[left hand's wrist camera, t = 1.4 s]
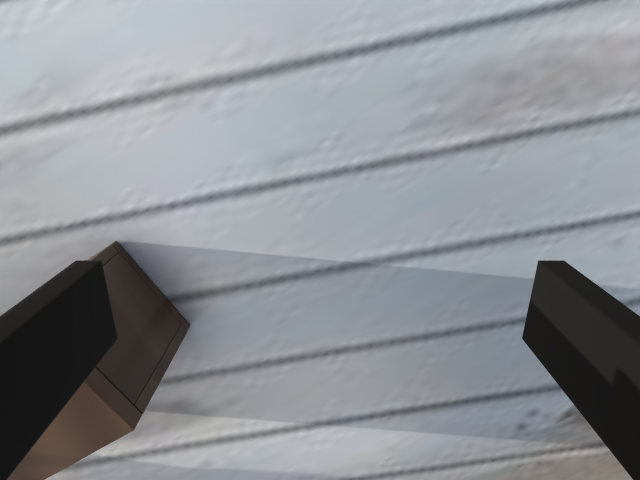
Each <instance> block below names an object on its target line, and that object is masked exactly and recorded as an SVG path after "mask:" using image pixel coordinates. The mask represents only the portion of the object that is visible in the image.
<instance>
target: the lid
mask: <svg viewBox="0 0 640 480" xmlns="http://www.w3.org/2000/svg"><path fill="white" fill-rule="evenodd" d="M141 416H142V414H141V413H140V412H139V411H138V410H137V409H136V408H135V407H134V406H133V405H132V404H131V403H130V402H129V401H128V400H127V399H126V398H125V397H124V396H123V395H122V394H121V393H120V392H119V391H118V390H117V389H116V388H115V387H114V386H113V385H112V384H111V383H110V382H109V381H108V380H107V379H106V378H105V377H104V376H103V375H102V374H101V373H100V372H99V371H98V370H97V369H96V368H94V369H93V371H92V372H91V373H90V374H89V376H88V377H87V378H86V380H85V381H84V382H83V383H82V385H81V386H80V387H79V388H78V390H77V391H76V392H75V394H74V395H73V396H72V397H71V399H70V400H69V401H68V402H67V404H66V405H65V406H64V407H63V409H62V410H61V411H60V413H59V414H58V415H57V416H56V418H55V419H54V420H53V421H52V423H51V424H50V425H49V427H48V428H47V429H46V430H45V432H44V433H43V434H42V435H41V437H40V438H39V439H38V441H37V442H36V443H35V444H34V446H33V447H32V448H31V449H30V451H29V452H28V453H27V455H26V456H25V457H24V458H23V460H22V461H21V462H20V463H19V465H18V466H17V467H16V468H15V470H14V471H13V472H12V474H11V475H10V476H9V477H8V479H7V480H44V479H46V478H48V477H50V476H52V475H53V474H55V473H57V472H59V471H61V470H62V469H64V468H66V467H68V466H70V465H72V464H73V463H75V462H77V461H79V460H81V459H82V458H84V457H86V456H88V455H90V454H91V453H93V452H95V451H97V450H99V449H100V448H102V447H104V446H106V445H108V444H110V443H111V442H113V441H115V440H117V439H119V438H120V437H122V436H124V435H126V434H128V433H129V432H131V431H133V430H134V429H135V427H136V425H137V423H138V422H139V420H140V418H141Z"/></svg>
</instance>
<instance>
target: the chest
mask: <svg viewBox="0 0 640 480" xmlns="http://www.w3.org/2000/svg"><path fill="white" fill-rule="evenodd" d="M87 261H102V265H103V270H104V275H105V279H106V284H107V289H108V294H109V299H110V303H111V308H112V313H113V318H114V322H115V327H116V332H117V337H118V339H117V340H116V341H115V343H114V344H113V345H112V346H111V348H110V349H109V350H108V352H107V353H106V354H105V355H104V357H103V358H102V359H101V360H100V362H99V363H98V364H97V366H96V367H95V368H96V369H97V370H98V371H99V372H100V373H101V374H102V375H103V376H104V377H105V378H106V379H107V380H108V381H109V382H110V383H111V384H112V385H113V386H114V387H115V388H116V389H117V390H118V391H119V392H120V393H121V394H122V395H123V396H124V397H125V398H126V399H127V400H128V401H129V402H130V403H131V404H132V405H133V406H134V407H135V408H136V409H137V410H138V411H139V412H140V413H141V414H143V413H144V411H145V409H146V407H147V405H148V403H149V401H150V400H151V398H152V396H153V394H154V392H155V390H156V388H157V387H158V385H159V383H160V381H161V379H162V377H163V376H164V374H165V372H166V370H167V368H168V366H169V364H170V363H171V361H172V359H173V357H174V355H175V353H176V351H177V350H178V348H179V346H180V344H181V342H182V340H183V338H184V337H185V335H186V333H187V331H188V329H189V327H190V325H189V324H188V322H187V321H186V320H185V319H184V318H183V317H182V316H181V314H180V313H179V312H178V311H177V310H176V309H175V308H174V306H173V305H172V304H171V303H170V302H169V301H168V299H167V298H166V297H165V296H164V295H163V294H162V293H161V291H160V290H159V289H158V288H157V287H156V286H155V285H154V283H153V282H152V281H151V280H150V279H149V278H148V276H147V275H146V274H145V273H144V272H143V271H142V270H141V268H140V267H139V266H138V265H137V264H136V263H135V262H134V260H133V259H132V258H131V257H130V256H129V255H128V254H127V252H126V251H125V250H124V249H123V248H122V247H121V245H120V244H119V243H118V242H117V241H115V242H114V243H112V244H111V245H109V246H108V247H106V248H105V249H103V250H102V251H100V252H99V253H97V254H96V255H94V256H93V257H91V258H90V259H89V260H87Z"/></svg>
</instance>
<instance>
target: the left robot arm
mask: <svg viewBox="0 0 640 480" xmlns="http://www.w3.org/2000/svg"><path fill="white" fill-rule="evenodd" d="M117 339H118V337H117V332H116V327H115V322H114V318H113V313H112V308H111V303H110V299H109V294H108V289H107V284H106V279H105V275H104V270H103V265H102V261H75V262H74V263H72V264H71V265H70V266H68V267H67V268H66V269H64V270H63V271H61V272H60V273H59V274H57V275H56V276H55V277H53V278H52V279H51V280H49V281H48V282H46V283H45V284H44V285H42V286H41V287H40V288H38V289H37V290H36V291H34V292H33V293H32V294H30V295H29V296H27V297H26V298H25V299H23V300H22V301H21V302H19V303H18V304H17V305H15V306H14V307H12V308H11V309H10V310H8V311H7V312H6V313H4V314H3V315H2V316H0V480H7V479H8V477H9V476H10V475H11V474H12V472H13V471H14V470H15V468H16V467H17V466H18V465H19V463H20V462H21V461H22V460H23V458H24V457H25V456H26V455H27V453H28V452H29V451H30V449H31V448H32V447H33V446H34V444H35V443H36V442H37V441H38V439H39V438H40V437H41V435H42V434H43V433H44V432H45V430H46V429H47V428H48V427H49V425H50V424H51V423H52V421H53V420H54V419H55V418H56V416H57V415H58V414H59V413H60V411H61V410H62V409H63V407H64V406H65V405H66V404H67V402H68V401H69V400H70V399H71V397H72V396H73V395H74V394H75V392H76V391H77V390H78V388H79V387H80V386H81V385H82V383H83V382H84V381H85V380H86V378H87V377H88V376H89V374H90V373H91V372H92V371H93V369H94V368H95V367H96V366H97V364H98V363H99V362H100V360H101V359H102V358H103V357H104V355H105V354H106V353H107V352H108V350H109V349H110V348H111V346H112V345H113V344H114V343H115V341H116V340H117ZM522 339H523V340H524V341H525V343H526V344H527V345H528V346H529V348H530V349H531V350H532V352H533V353H534V354H535V355H536V357H537V358H538V359H539V360H540V362H541V363H542V364H543V366H544V367H545V368H546V369H547V371H548V372H549V373H550V374H551V376H552V377H553V378H554V380H555V381H556V382H557V383H558V385H559V386H560V387H561V388H562V390H563V391H564V392H565V394H566V395H567V396H568V397H569V399H570V400H571V401H572V402H573V404H574V405H575V406H576V407H577V409H578V410H579V411H580V413H581V414H582V415H583V416H584V418H585V419H586V420H587V421H588V423H589V424H590V425H591V427H592V428H593V429H594V430H595V432H596V433H597V434H598V435H599V437H600V438H601V439H602V441H603V442H604V443H605V444H606V446H607V447H608V448H609V449H610V451H611V452H612V453H613V455H614V456H615V457H616V458H617V460H618V461H619V462H620V463H621V465H622V466H623V467H624V468H625V470H626V471H627V472H628V474H629V475H630V476H631V477H632V479H633V480H640V316H638V315H637V314H636V313H634V312H633V311H632V310H630V309H629V308H628V307H626V306H625V305H623V304H622V303H621V302H619V301H618V300H617V299H615V298H614V297H613V296H611V295H610V294H608V293H607V292H606V291H604V290H603V289H602V288H600V287H599V286H598V285H596V284H595V283H594V282H592V281H591V280H589V279H588V278H587V277H585V276H584V275H583V274H581V273H580V272H579V271H577V270H576V269H574V268H573V267H572V266H570V265H569V264H568V263H566V262H565V261H538V265H537V270H536V275H535V279H534V284H533V289H532V294H531V299H530V303H529V308H528V313H527V318H526V322H525V327H524V332H523V337H522Z"/></svg>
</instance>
